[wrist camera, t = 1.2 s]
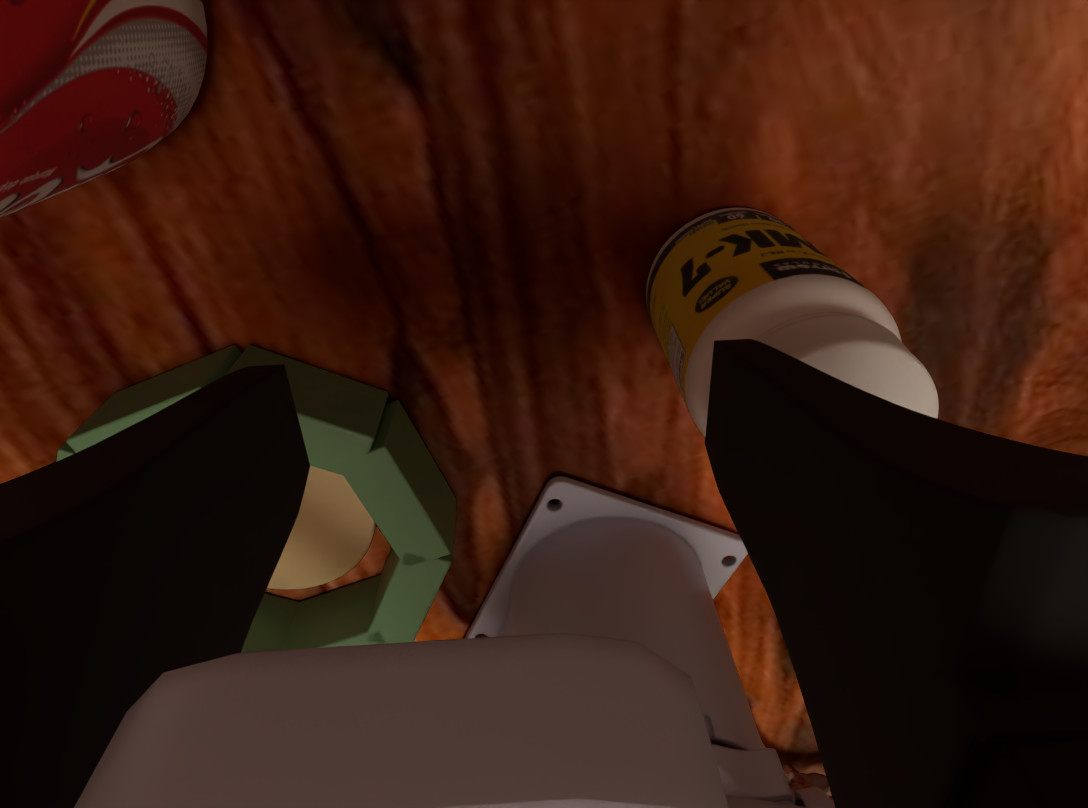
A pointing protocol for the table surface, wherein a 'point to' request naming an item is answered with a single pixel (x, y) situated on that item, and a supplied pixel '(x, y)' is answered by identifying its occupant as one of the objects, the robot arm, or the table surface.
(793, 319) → the supplement bottle
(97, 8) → the soda can
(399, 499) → the ring
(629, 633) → the robot arm
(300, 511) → the peg stand
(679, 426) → the table surface
